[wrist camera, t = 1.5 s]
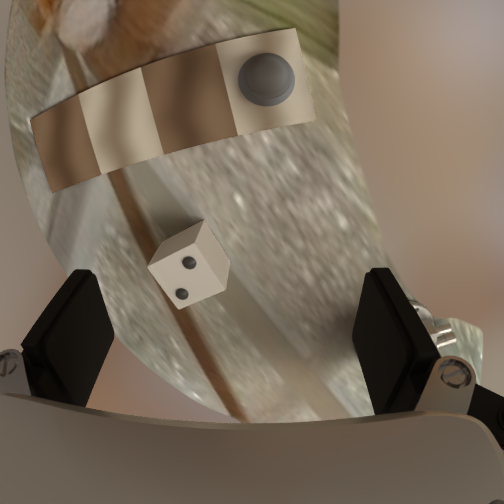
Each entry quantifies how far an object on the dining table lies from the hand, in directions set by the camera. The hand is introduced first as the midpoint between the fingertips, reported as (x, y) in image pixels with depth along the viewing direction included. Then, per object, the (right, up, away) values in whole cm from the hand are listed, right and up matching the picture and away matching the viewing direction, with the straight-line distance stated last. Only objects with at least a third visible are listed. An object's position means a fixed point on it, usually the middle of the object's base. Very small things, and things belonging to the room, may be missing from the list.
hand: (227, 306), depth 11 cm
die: (-6, +2, +27) cm, 28 cm away
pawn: (+2, +18, +18) cm, 26 cm away
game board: (-10, +17, +20) cm, 27 cm away
